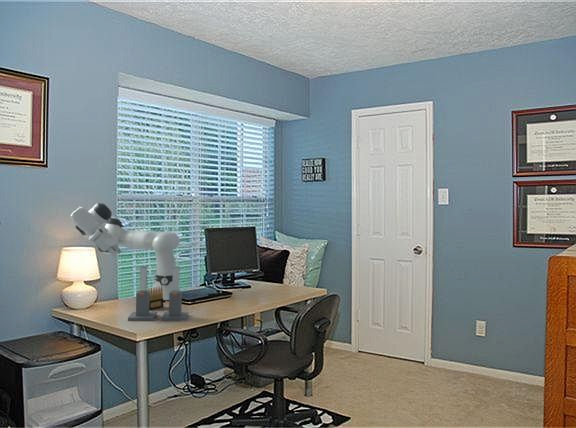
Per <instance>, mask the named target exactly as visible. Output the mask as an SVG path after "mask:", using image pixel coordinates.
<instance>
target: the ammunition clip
mask: <svg viewBox="0 0 576 428" xmlns="http://www.w3.org/2000/svg"><path fill="white" fill-rule="evenodd" d="M147 291H150V304H149V311H154V310H159V309H161V308H164V300H163V289H162V286H161V289H160V287H158V290H157V287H156V289H155V288H153V287H147ZM152 292H153V293H152Z"/></svg>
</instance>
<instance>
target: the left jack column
mask: <svg viewBox="0 0 576 428" xmlns="http://www.w3.org/2000/svg"><path fill="white" fill-rule="evenodd" d="M147 286H148V265H147V266H145V265H141V266H140V267H139V290H138V291H139V293H146V292H147V291H148V287H147Z"/></svg>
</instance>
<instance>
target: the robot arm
mask: <svg viewBox="0 0 576 428" xmlns="http://www.w3.org/2000/svg"><path fill="white" fill-rule="evenodd" d="M112 213H113V212H112V210H111V208H110V207H108V205H107V204H105V203H103V202H99V203H95V205H94V206H92V208H90V209H89V210H87V209H86V208H85V207H83V206H79V207H78V208H76V209H75V210H74V211H73V212H71V214H70V216H69V217H70V218H71V220H72V221H73V223H74V224H75V229H76V230H77V231H78V232H79V233H80V234H81V235H82V236H83V237H84V238H85V239H86V240H88V241H90V242H91V243H94V246H96V247H97V249H98V251H99V252H100V253H101V254H104V255H113V257H116V256H117V255H119V254H121V253H122V252H123V250H122V249H121V248H120V247H123V248H128V249H132V250H133V249H135V250H147V251H149V250H150V251H154V254H155V261H156V274H155V277H154V278H155V282H154V283H152V289H153V288H155V289H156V287H157V290H158V287H160V289H161V286H162V289H163V301H169V293H170V291H172V279H173V266H176V264H177V261H176V259H175V256H174V250H175V249H177V248H178V246H179V245H180V242H181V241H180V240H181V239H180V236H179V235H178V234H176V233H174V232H171V231H170V232H169V231H167V232H166V231H148V230H147V231H146V230H136V229H135V230H134V229H133V230H132V229H128V230H127V229H123V228H125V225H123V222H122V221H121V220H120V219H119V218H117V217H114V216H112ZM119 246H120V247H119ZM152 293H153V291H152Z"/></svg>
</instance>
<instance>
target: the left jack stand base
mask: <svg viewBox="0 0 576 428" xmlns="http://www.w3.org/2000/svg"><path fill="white" fill-rule="evenodd" d="M135 304H136V305H135V311H132V312H131V314H130V315H129V316H128V317H127V321H130V322H131V321H132V322H138V321H139V322H141V321H142V322H144V321H145V322H146V321H147V322H154V320H155V318H156V316H157V315H158V314H157V311H150V310H149V304H150V291H148V290H147V292H146V293H139V290H138V291H137V292H136V294H135Z"/></svg>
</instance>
